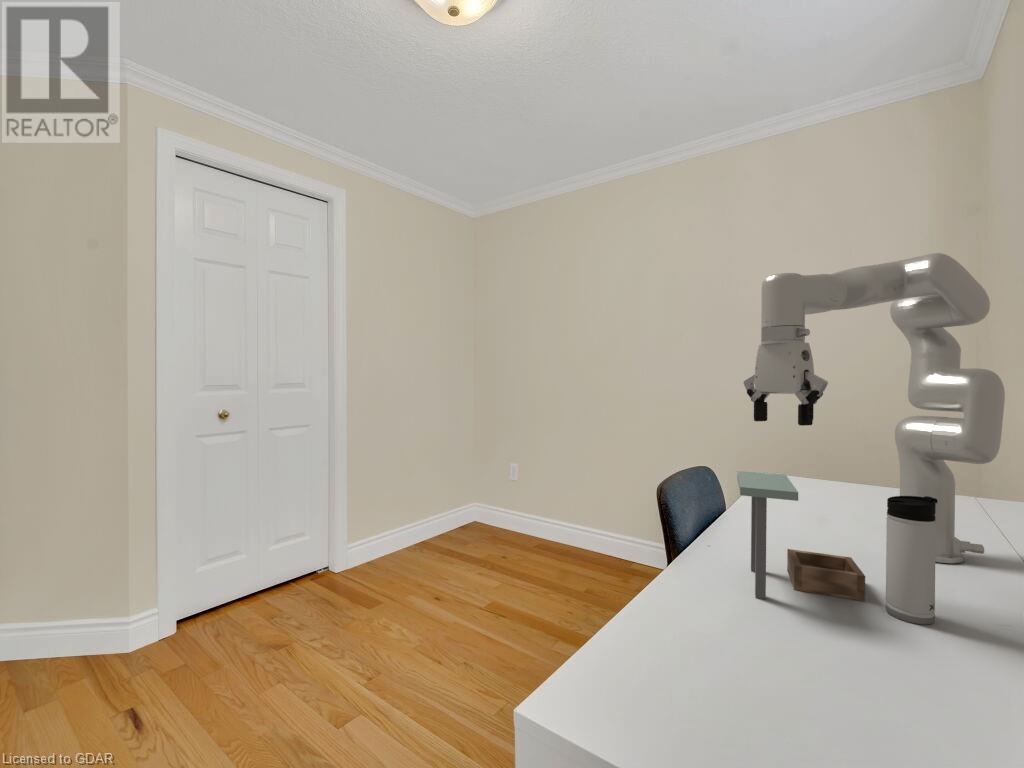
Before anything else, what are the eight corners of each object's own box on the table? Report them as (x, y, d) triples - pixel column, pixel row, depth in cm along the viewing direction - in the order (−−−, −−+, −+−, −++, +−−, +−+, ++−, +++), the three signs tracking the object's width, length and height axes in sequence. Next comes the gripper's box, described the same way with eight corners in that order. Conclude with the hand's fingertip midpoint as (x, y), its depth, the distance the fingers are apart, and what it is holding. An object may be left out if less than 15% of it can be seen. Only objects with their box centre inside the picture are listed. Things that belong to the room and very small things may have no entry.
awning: (784, 571, 96) (785, 474, 96) (797, 607, 80) (798, 492, 80) (736, 564, 99) (737, 471, 99) (739, 597, 84) (740, 487, 84)
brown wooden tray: (850, 580, 92) (851, 557, 92) (865, 601, 83) (865, 576, 83) (787, 570, 96) (787, 548, 96) (794, 589, 87) (794, 565, 87)
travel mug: (947, 627, 74) (948, 502, 74) (899, 623, 75) (901, 500, 75) (921, 609, 80) (922, 493, 80) (877, 605, 82) (878, 491, 82)
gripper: (839, 333, 86) (838, 426, 86) (758, 341, 102) (757, 419, 102) (812, 332, 83) (811, 427, 83) (732, 340, 99) (732, 420, 99)
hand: (781, 423), depth 93 cm, fingers open, 9 cm apart
